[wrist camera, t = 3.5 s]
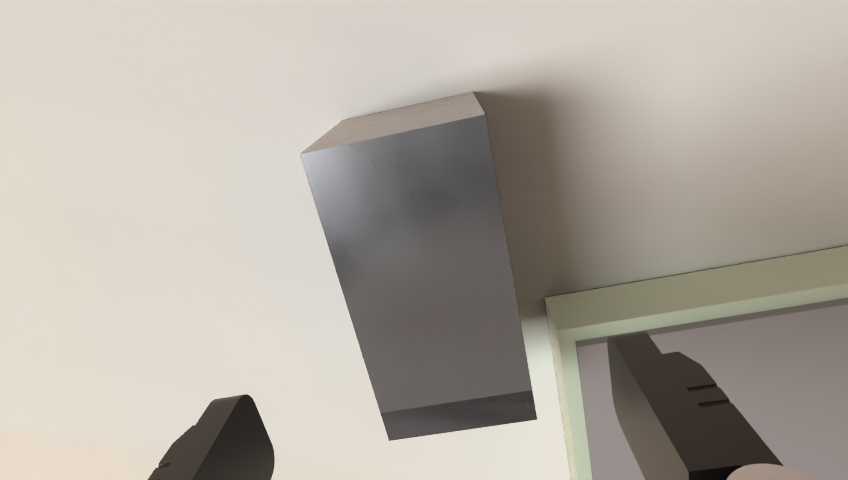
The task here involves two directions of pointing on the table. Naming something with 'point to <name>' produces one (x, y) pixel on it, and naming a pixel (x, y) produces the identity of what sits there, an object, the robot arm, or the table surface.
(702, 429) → the robot arm
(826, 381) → the stand
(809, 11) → the table surface
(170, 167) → the table surface
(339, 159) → the block
